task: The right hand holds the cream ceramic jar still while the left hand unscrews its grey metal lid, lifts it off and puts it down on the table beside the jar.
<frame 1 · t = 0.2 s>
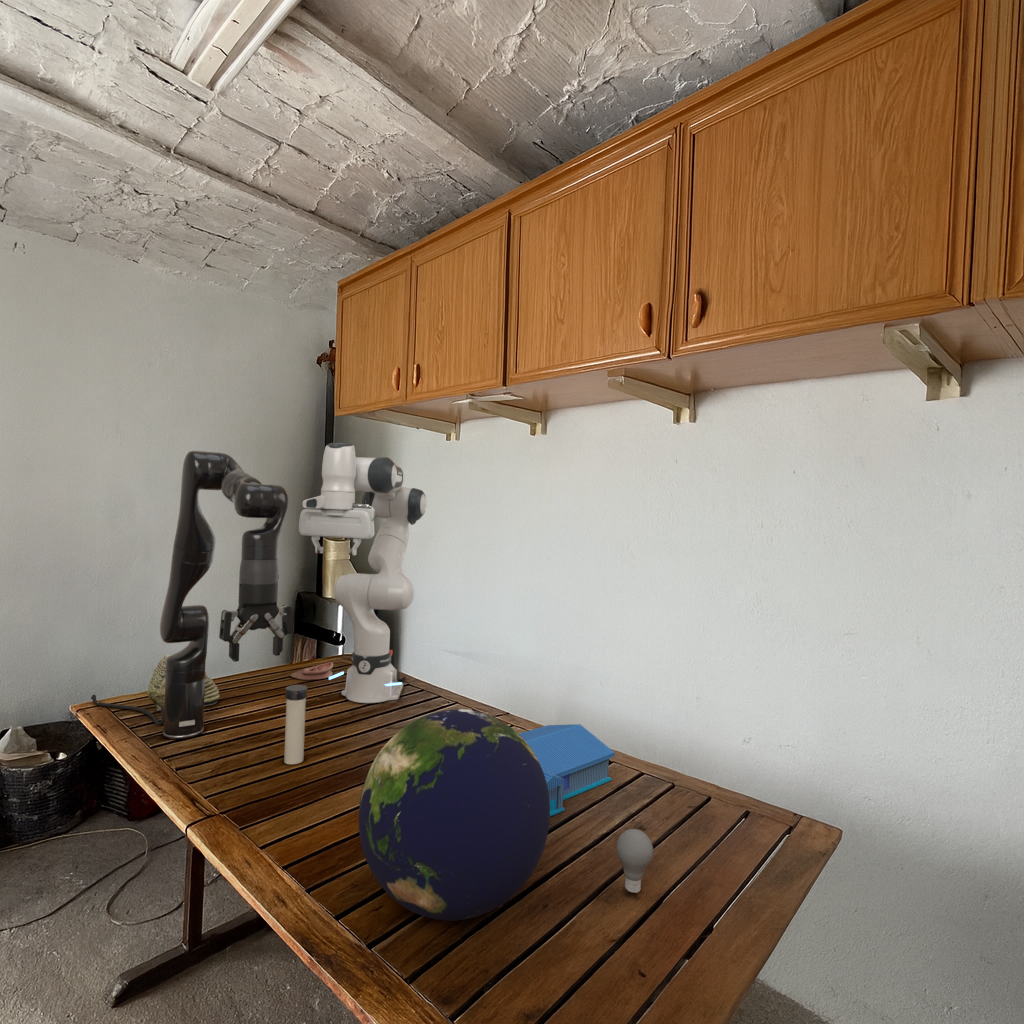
left hand: (256, 657, 132), 29 cm above the table, tool pointing down, fingers open, 8 cm apart
right hand: (335, 554, 170), 48 cm above the table, tool pointing down, fingers open, 8 cm apart
anatomical model: (311, 676, 221), on the table
globe: (451, 903, 101), on the table
light bulb: (632, 891, 106), on the table
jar: (293, 760, 151), on the table
lid: (296, 689, 151), point 17 cm above the table, screwed on, not yet turned
fossil: (183, 706, 185), on the table
model building: (524, 789, 141), on the table
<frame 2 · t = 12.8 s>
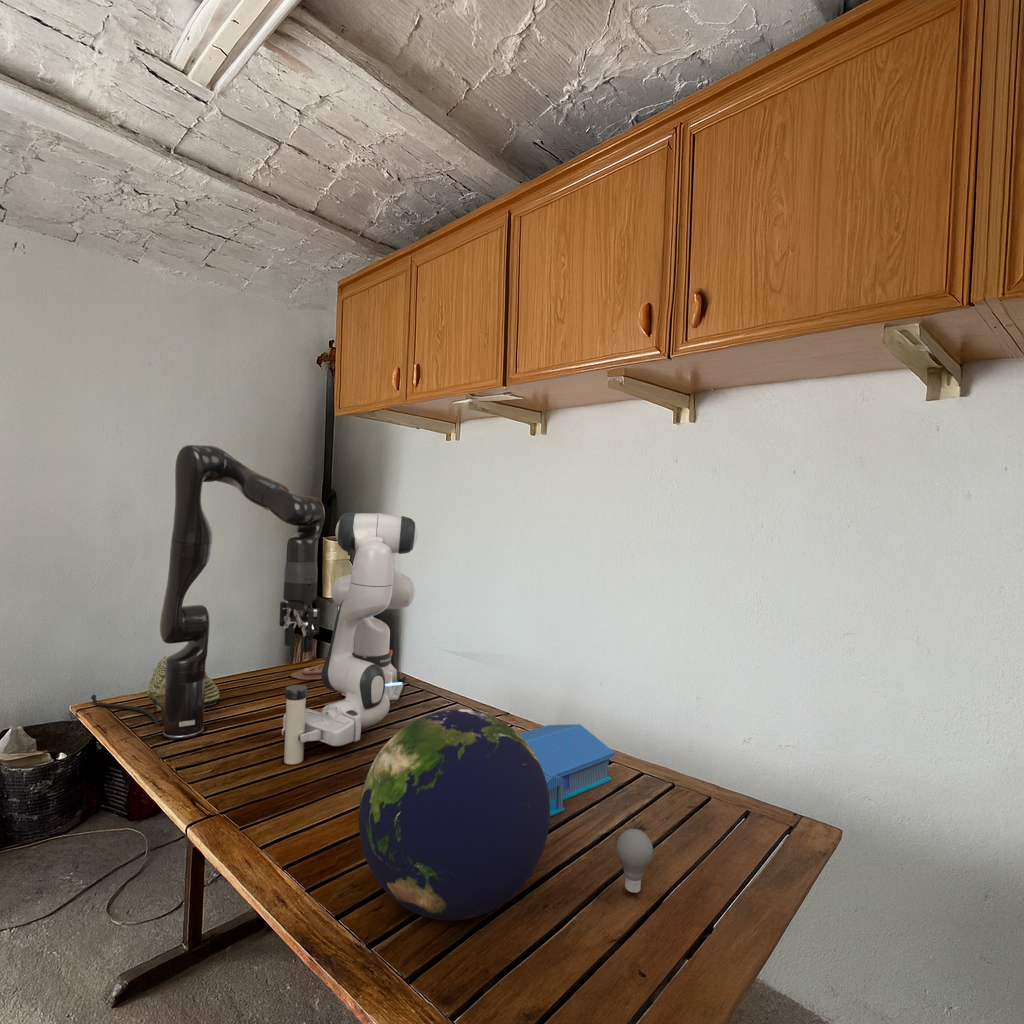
left hand: (298, 648, 151), 27 cm above the table, tool pointing down, fingers open, 7 cm apart
right hand: (291, 735, 150), 6 cm above the table, tool horizontal, fingers closed on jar, 4 cm apart
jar: (293, 760, 151), on the table, touching right hand
everything else where it was.
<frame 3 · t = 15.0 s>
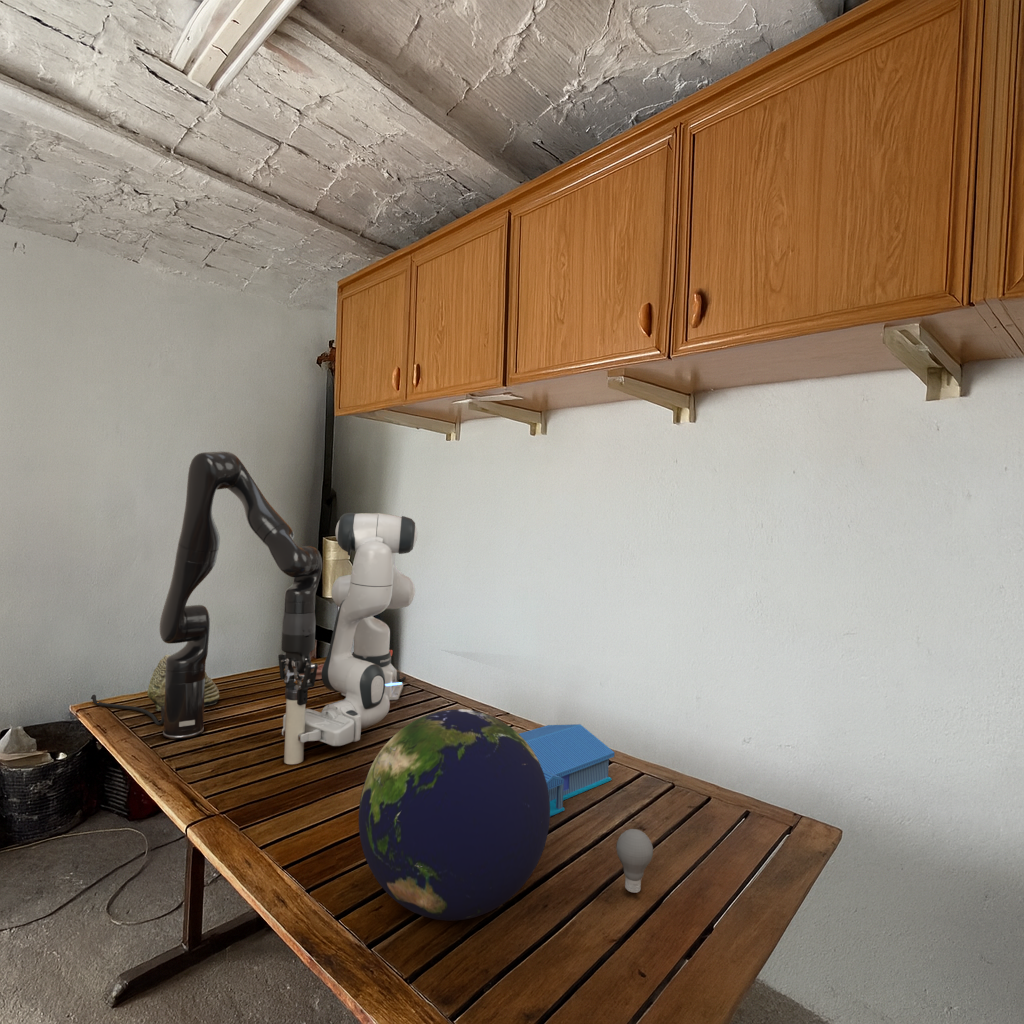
left hand: (296, 701, 151), 14 cm above the table, tool pointing down, fingers closed on lid, 4 cm apart
right hand: (291, 735, 150), 6 cm above the table, tool horizontal, fingers closed on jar, 4 cm apart
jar: (293, 760, 151), on the table, touching right hand
lid: (296, 689, 151), point 17 cm above the table, screwed on, not yet turned, touching left hand
everything else where it was.
when the left hand's fingers open (15 cm above the table, at t = 16.2 s): lid stays where it is, point 17 cm above the table.
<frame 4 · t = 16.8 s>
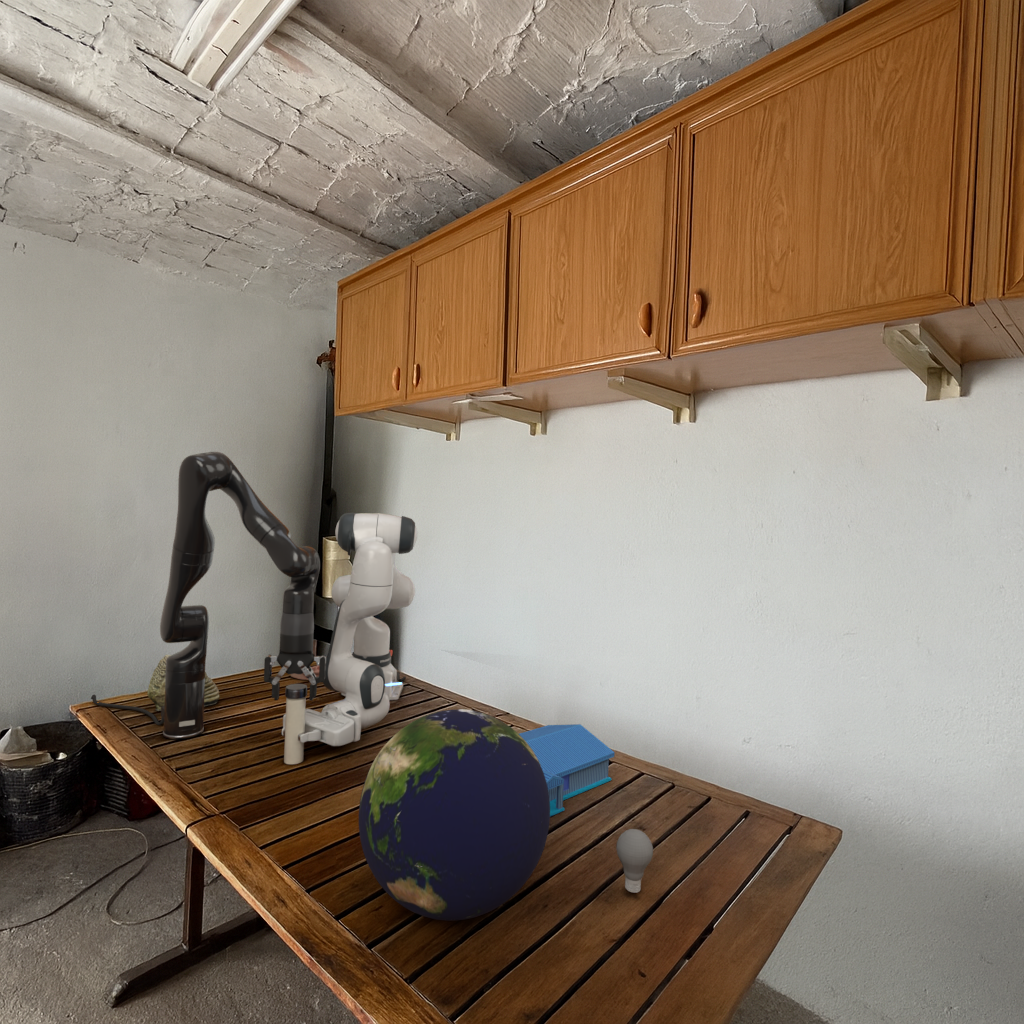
left hand: (294, 699, 150), 15 cm above the table, tool pointing down, fingers open, 7 cm apart
right hand: (291, 735, 150), 6 cm above the table, tool horizontal, fingers closed on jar, 4 cm apart
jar: (293, 760, 151), on the table, touching right hand
lid: (296, 688, 151), point 17 cm above the table, turned 68° so far, risen 0.2 cm, still on its thread
everything else where it was.
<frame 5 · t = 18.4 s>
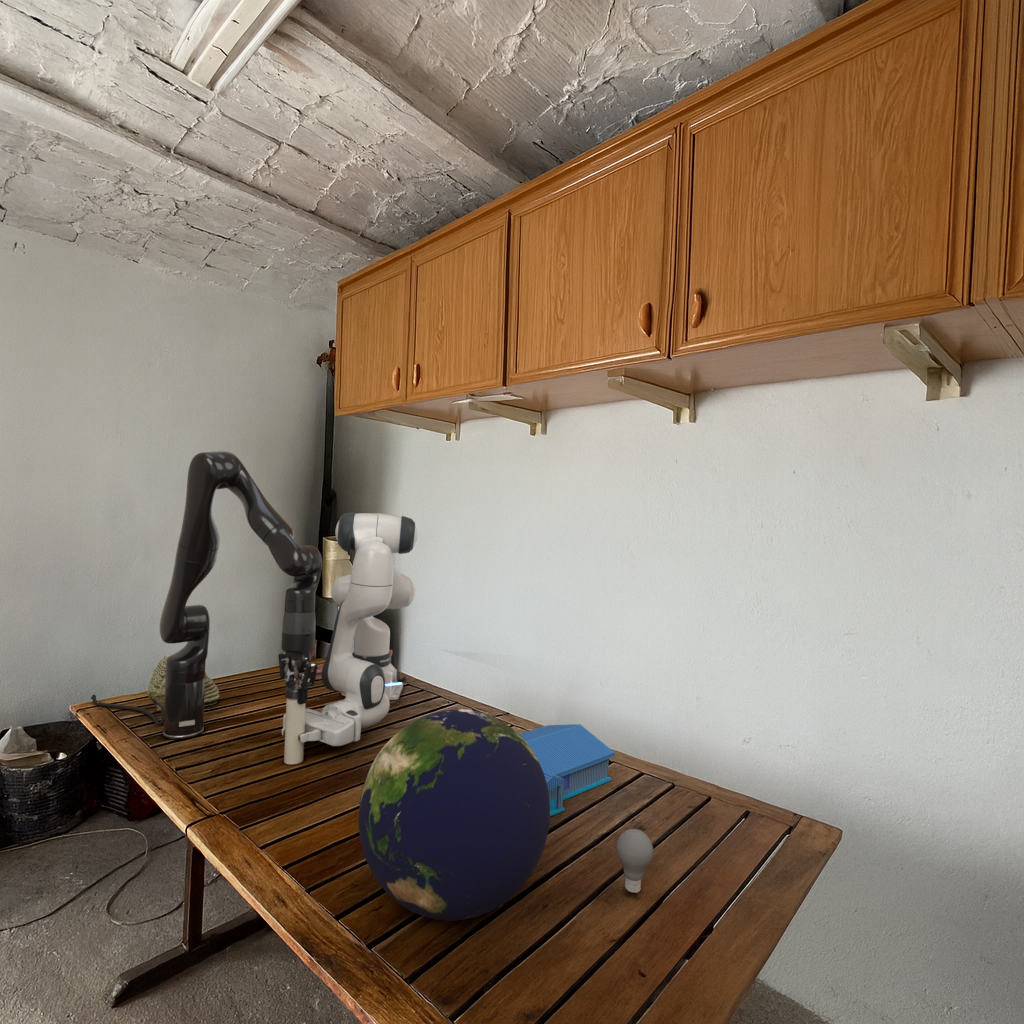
left hand: (296, 700, 151), 14 cm above the table, tool pointing down, fingers closed on lid, 4 cm apart
right hand: (291, 735, 150), 6 cm above the table, tool horizontal, fingers closed on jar, 4 cm apart
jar: (293, 760, 151), on the table, touching right hand
lid: (296, 688, 151), point 17 cm above the table, turned 68° so far, risen 0.2 cm, still on its thread, touching left hand
everything else where it was.
when the left hand's fingers open (1 cm above the table, at t = 24.3 s): lid drops 2 cm, point 2 cm above the table.
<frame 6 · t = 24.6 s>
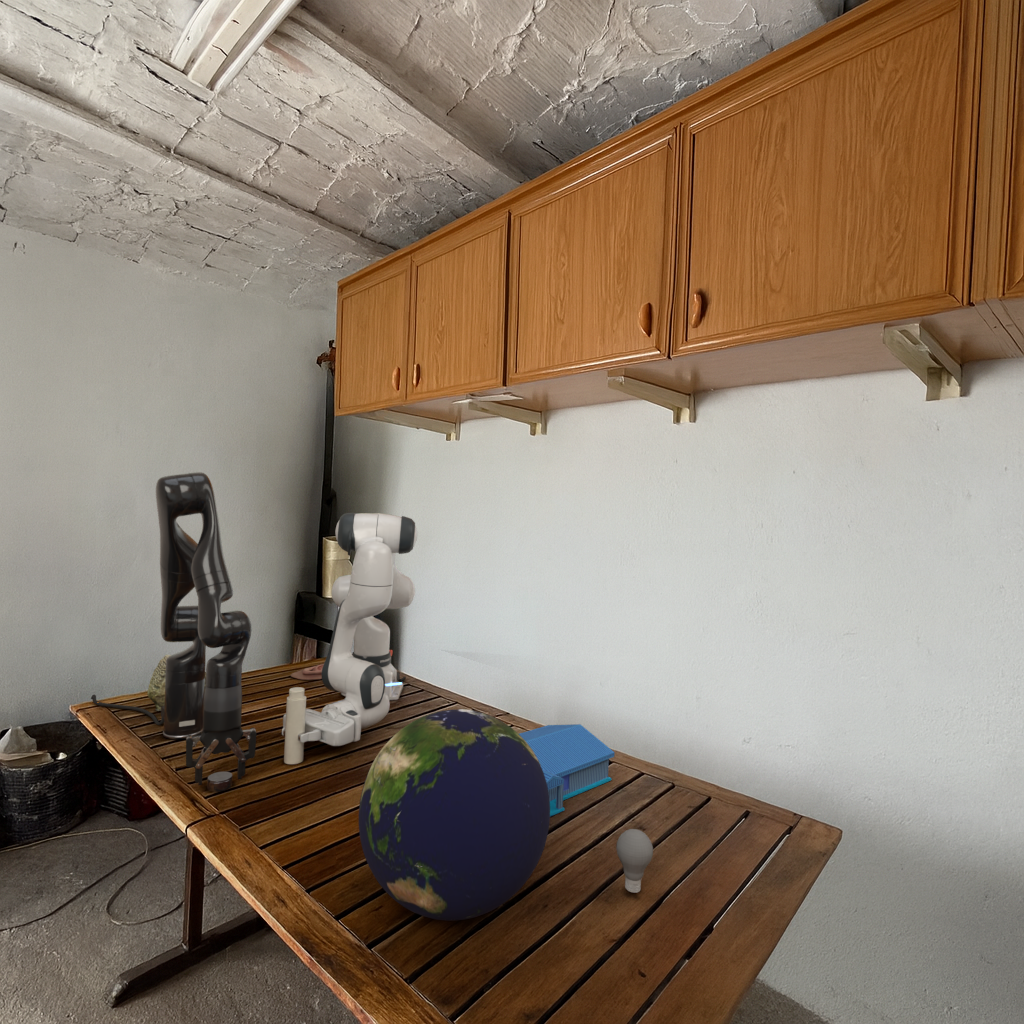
left hand: (220, 780, 136), 1 cm above the table, tool pointing down, fingers open, 7 cm apart
right hand: (291, 735, 150), 6 cm above the table, tool horizontal, fingers closed on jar, 4 cm apart
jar: (293, 760, 151), on the table, touching right hand
lid: (220, 777, 136), point 2 cm above the table, off its thread
everything else where it was.
when the right hand's fingers open (6 cm above the table, at t = 25.4 s): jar stays where it is, on the table.
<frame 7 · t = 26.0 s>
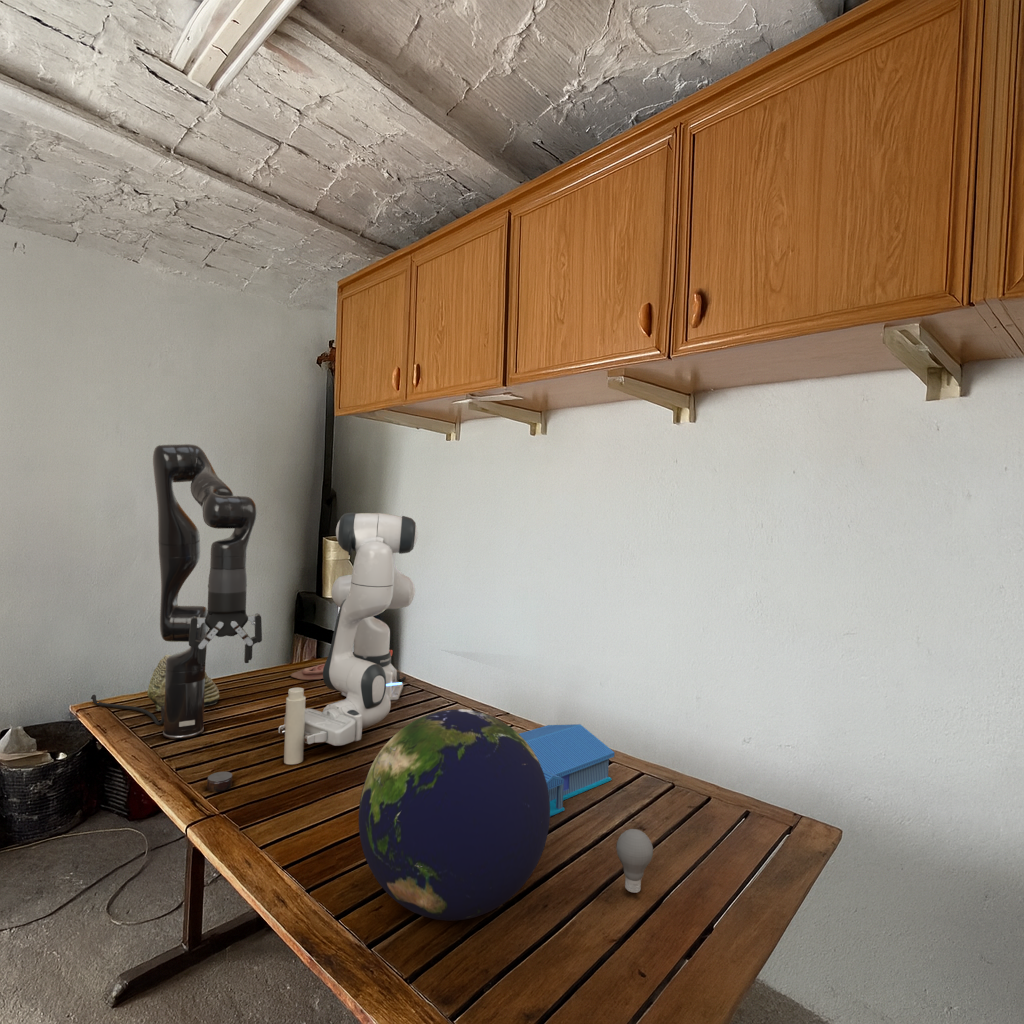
left hand: (225, 663, 136), 27 cm above the table, tool pointing down, fingers open, 8 cm apart
right hand: (293, 735, 151), 6 cm above the table, tool horizontal, fingers open, 8 cm apart
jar: (293, 760, 151), on the table
everything else where it was.
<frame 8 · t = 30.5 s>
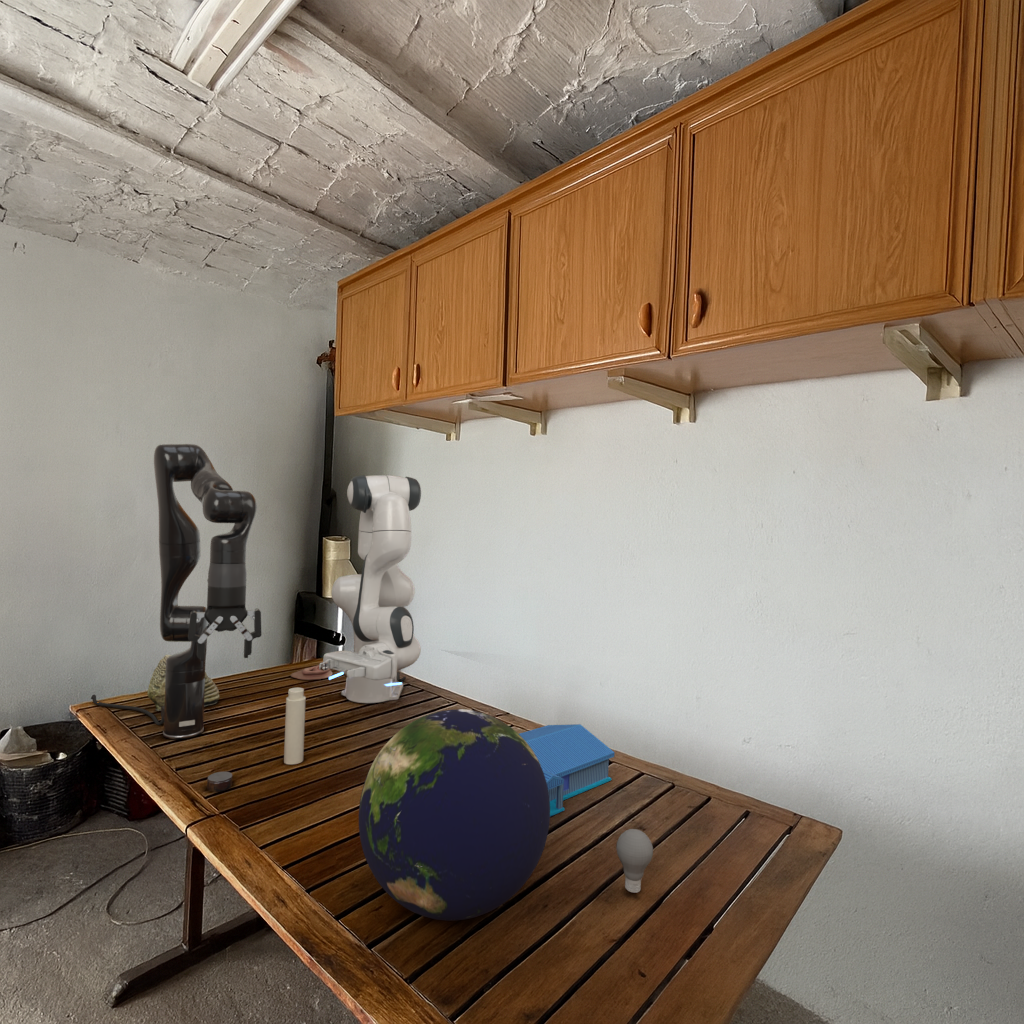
left hand: (224, 658, 136), 28 cm above the table, tool pointing down, fingers open, 8 cm apart
right hand: (333, 670, 160), 19 cm above the table, tool horizontal, fingers open, 8 cm apart
nothing on the table moved.
at the end: lid came off its thread; lid point 1.9 cm above the table; the left hand is holding nothing; the right hand is holding nothing; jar tilted 0°; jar moved 0.1 cm from its start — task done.
